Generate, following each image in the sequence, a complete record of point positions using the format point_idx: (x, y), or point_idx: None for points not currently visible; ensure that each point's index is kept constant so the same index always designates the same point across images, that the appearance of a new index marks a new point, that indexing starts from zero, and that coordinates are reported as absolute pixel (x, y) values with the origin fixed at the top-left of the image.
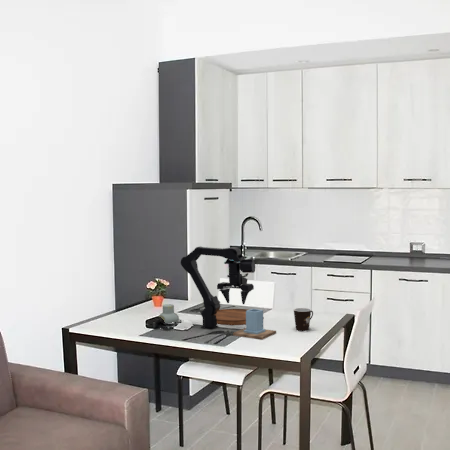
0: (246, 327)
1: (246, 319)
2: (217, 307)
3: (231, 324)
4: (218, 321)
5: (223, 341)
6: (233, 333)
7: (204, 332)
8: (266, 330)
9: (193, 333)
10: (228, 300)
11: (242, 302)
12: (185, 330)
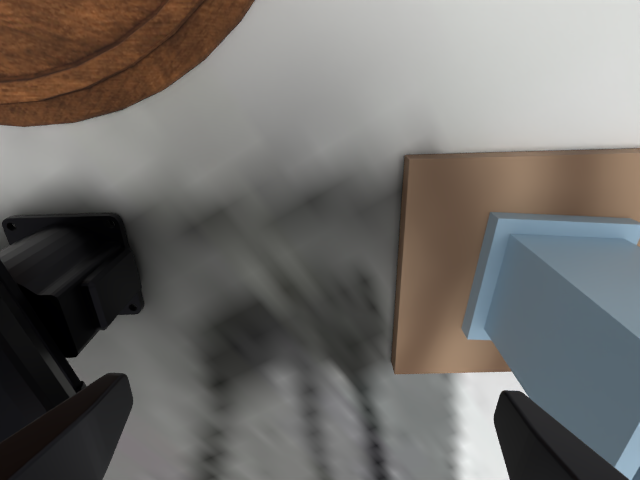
0: (499, 344)
1: (539, 402)
2: (34, 404)
3: (166, 85)
4: (9, 113)
5: (407, 472)
6: (397, 371)
7: (172, 386)
8: (632, 187)
9: (135, 430)
10: (100, 438)
11: (513, 470)
12: None
